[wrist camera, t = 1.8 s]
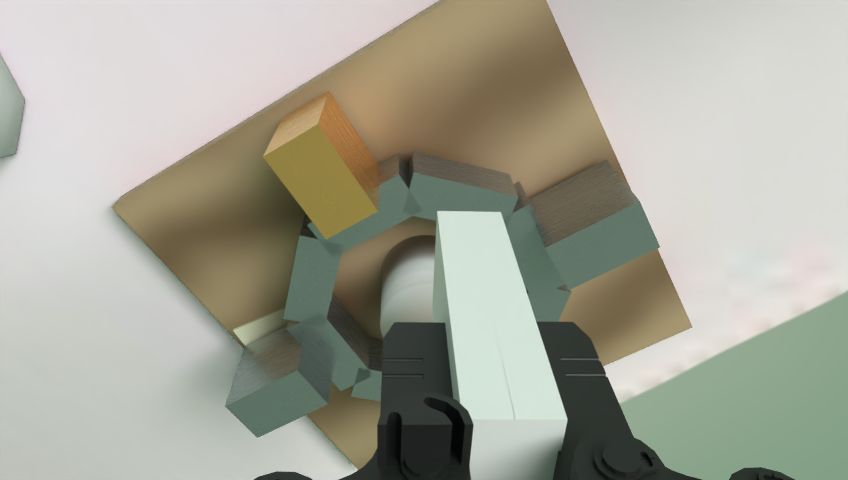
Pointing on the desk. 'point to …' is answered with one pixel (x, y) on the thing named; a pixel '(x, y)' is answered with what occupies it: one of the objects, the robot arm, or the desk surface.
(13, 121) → the flask
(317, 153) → the ring nut
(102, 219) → the desk surface
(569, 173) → the board
